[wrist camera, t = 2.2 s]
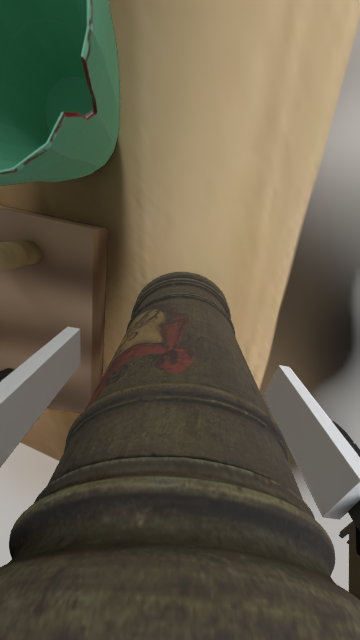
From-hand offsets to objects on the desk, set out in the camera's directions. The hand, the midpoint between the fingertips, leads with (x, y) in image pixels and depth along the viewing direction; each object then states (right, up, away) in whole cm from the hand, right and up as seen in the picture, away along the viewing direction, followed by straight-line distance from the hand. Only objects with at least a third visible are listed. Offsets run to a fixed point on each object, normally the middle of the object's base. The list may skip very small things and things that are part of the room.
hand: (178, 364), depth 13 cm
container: (0, +4, +7) cm, 8 cm away
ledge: (-13, +3, +7) cm, 15 cm away
